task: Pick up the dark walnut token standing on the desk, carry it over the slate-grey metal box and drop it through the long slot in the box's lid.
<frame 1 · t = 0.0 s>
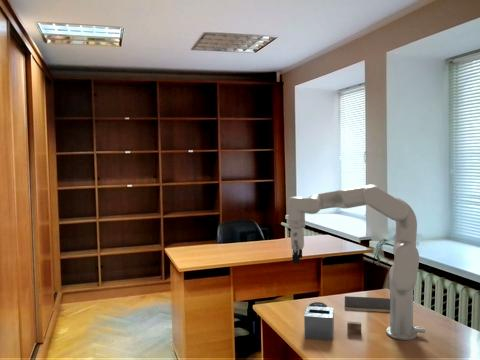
hand: (297, 260, 196), 31 cm above the table, tool pointing down, fingers open, 9 cm apart
hardcover book: (367, 306, 222), on the table
slot box: (319, 333, 190), on the table
electronic device: (317, 312, 216), on the table
walnut token: (354, 333, 189), on the table
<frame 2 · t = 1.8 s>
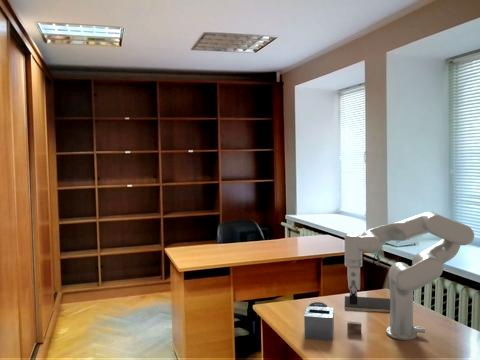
hand: (353, 300, 188), 15 cm above the table, tool pointing down, fingers open, 9 cm apart
nothing on the table moved.
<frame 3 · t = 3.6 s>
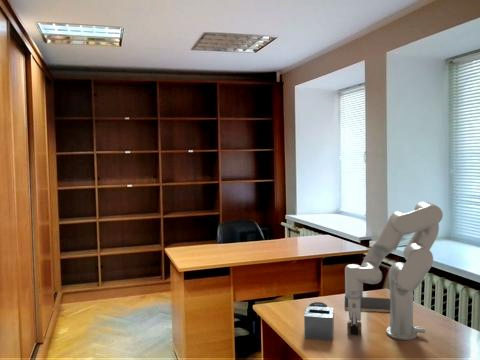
hand: (354, 333, 189), 0 cm above the table, tool pointing down, fingers closed on walnut token, 1 cm apart
walnut token: (354, 333, 189), on the table, touching gripper
everything else where it was.
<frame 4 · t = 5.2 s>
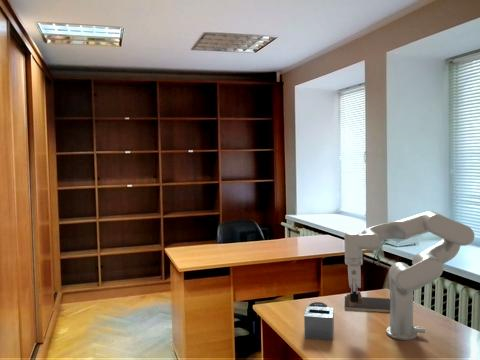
hand: (354, 301, 188), 15 cm above the table, tool pointing down, fingers closed on walnut token, 1 cm apart
walnut token: (356, 303, 188), point 13 cm above the table, tilted 16°, touching gripper
everything else where it was.
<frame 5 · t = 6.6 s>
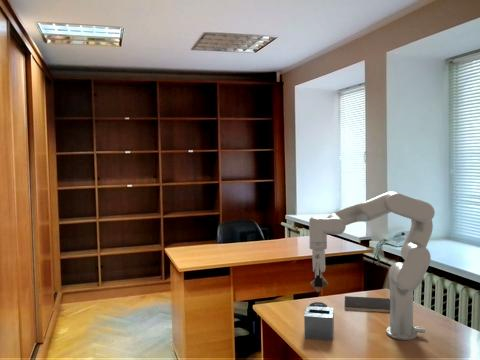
hand: (318, 285, 189), 22 cm above the table, tool pointing down, fingers closed on walnut token, 1 cm apart
walnut token: (323, 287, 188), point 21 cm above the table, tilted 39°, touching gripper
everything else where it was.
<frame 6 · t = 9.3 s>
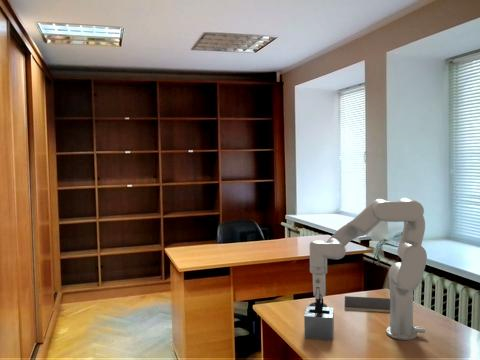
hand: (319, 308, 189), 11 cm above the table, tool pointing down, fingers open, 4 cm apart
walnut token: (323, 334, 189), resting in slot box, tilted 22°
everything else where it was.
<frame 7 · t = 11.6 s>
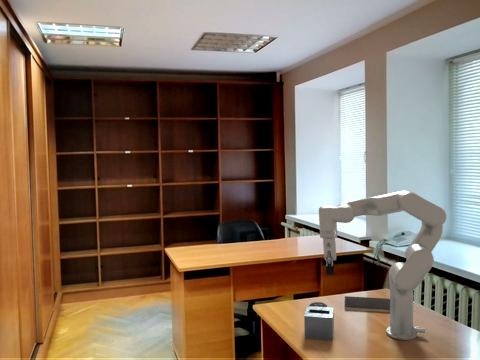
hand: (330, 271, 190), 28 cm above the table, tool pointing down, fingers open, 9 cm apart
walnut token: (322, 333, 189), point 1 cm above the table, tilted 42°
everything else where it was.
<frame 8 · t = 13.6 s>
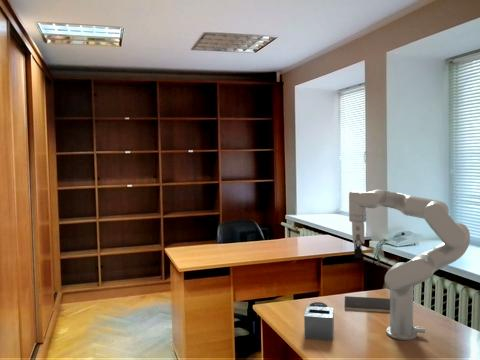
hand: (358, 254, 195), 33 cm above the table, tool pointing down, fingers open, 9 cm apart
walnut token: (322, 332, 190), point 1 cm above the table, tilted 55°, touching slot box
everything else where it was.
at the end: walnut token inside the target area on the slot box (1.3 cm from its centre), point 0.8 cm above the slot box's base; the gripper is holding nothing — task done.
